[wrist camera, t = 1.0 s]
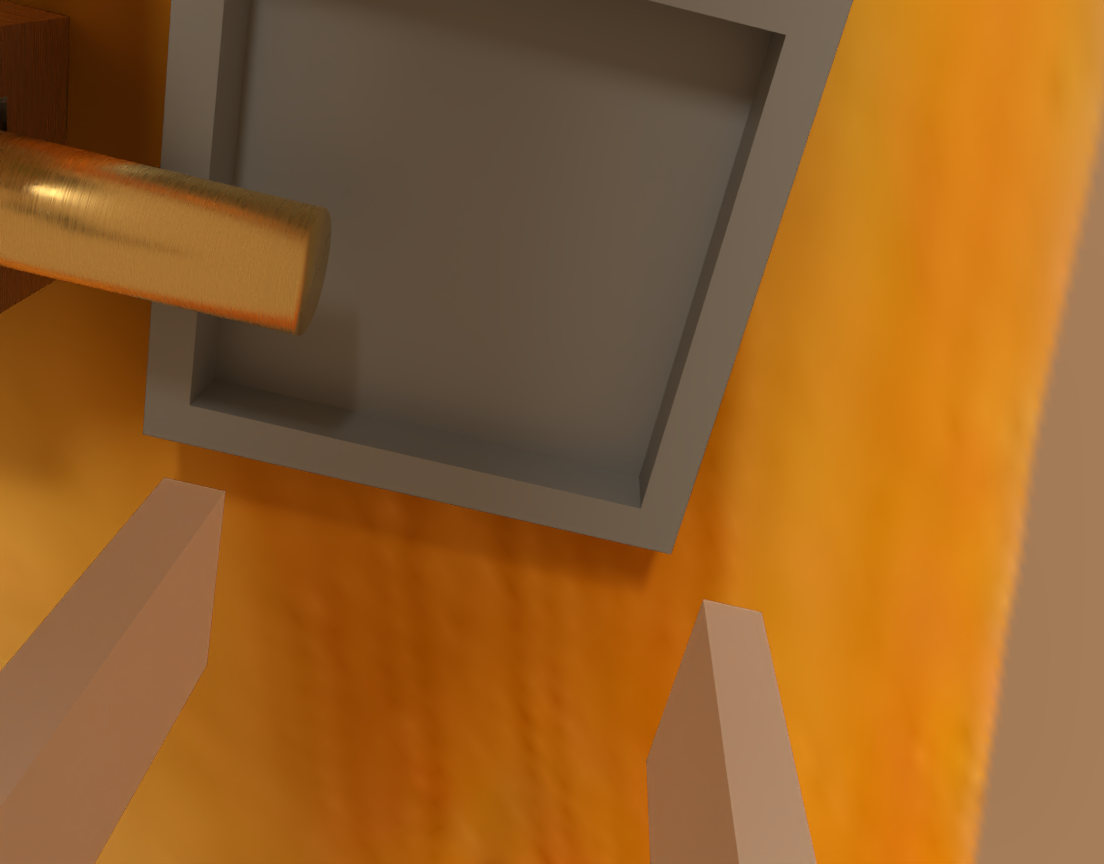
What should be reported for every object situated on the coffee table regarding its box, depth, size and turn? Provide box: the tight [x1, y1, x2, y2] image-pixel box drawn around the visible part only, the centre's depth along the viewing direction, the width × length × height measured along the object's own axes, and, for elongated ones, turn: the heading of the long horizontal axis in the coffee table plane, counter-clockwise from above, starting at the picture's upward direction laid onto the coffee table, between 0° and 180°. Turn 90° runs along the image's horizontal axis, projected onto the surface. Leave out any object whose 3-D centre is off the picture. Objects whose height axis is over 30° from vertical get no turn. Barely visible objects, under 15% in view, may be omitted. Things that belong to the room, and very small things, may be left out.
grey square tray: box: [143, 0, 853, 554], centre depth 27 cm, size 15×15×2 cm
